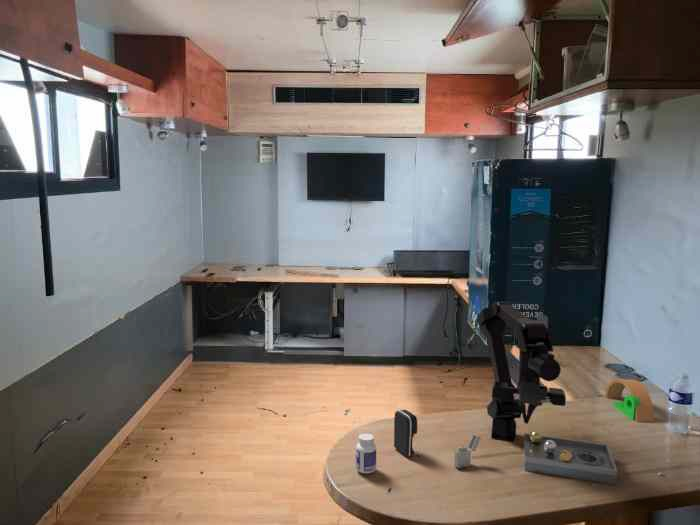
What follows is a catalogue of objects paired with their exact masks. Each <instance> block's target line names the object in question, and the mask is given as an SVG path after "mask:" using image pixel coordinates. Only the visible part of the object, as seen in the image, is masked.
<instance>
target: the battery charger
mask: <svg viewBox="0 0 700 525" xmlns="http://www.w3.org/2000/svg"><path fill="white" fill-rule="evenodd" d="M393 420H394V421H393V423H394V424H393V428H394V429H393V431H394V432H393V436H394V438H393V439H394V440H393V447H394V448H395V449H396V450H398V451H399V452H400V453H401V454H402V455H403V456H406V457H410V456H413V455H414V454H415V451H414V449H413V439H414V436H415V435H416V434H417V433H418V419H417V416H416V415H415V414H413V413H412V412H410V411H408V410H407V409H402V410H397V411H395V413H394V419H393Z"/></svg>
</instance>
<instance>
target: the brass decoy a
mask: <svg viewBox="0 0 700 525" xmlns="http://www.w3.org/2000/svg"><path fill="white" fill-rule="evenodd" d="M529 434H530V439H531V441H532V442H534V443H539V442H541V440H542V436H543V434H542V433H541V432H540V431H539V430H531V431H530V433H529Z"/></svg>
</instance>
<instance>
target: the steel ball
mask: <svg viewBox="0 0 700 525" xmlns="http://www.w3.org/2000/svg"><path fill="white" fill-rule="evenodd" d="M544 449H545V451H546V452H548V453H554V452H555V451H556V449H557V445H556V443H555V442H554V441H552V440H547V441H545V443H544Z"/></svg>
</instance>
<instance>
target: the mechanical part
mask: <svg viewBox="0 0 700 525" xmlns="http://www.w3.org/2000/svg"><path fill="white" fill-rule="evenodd" d="M612 406H614V407H615V408H616V409H617V410H619V411H620V412H621V413H623V415H625V416H627V417H628V418H629V419H630V420H632V421H635V418H636V415H635V411H636V406H640V401H639V399H638V397H633V396H632V395H631V394H627V395H626V396H625V397H624V401H613V402H612Z"/></svg>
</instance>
